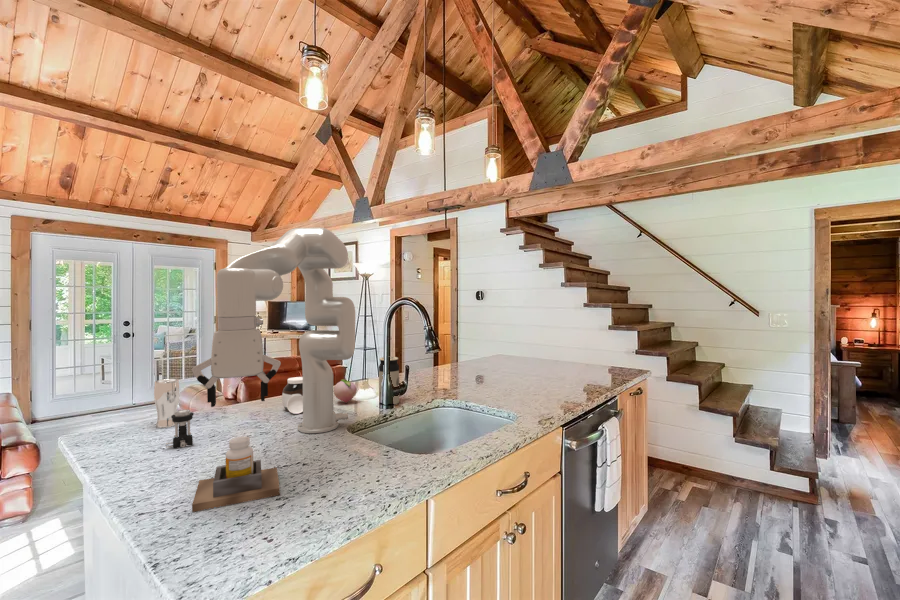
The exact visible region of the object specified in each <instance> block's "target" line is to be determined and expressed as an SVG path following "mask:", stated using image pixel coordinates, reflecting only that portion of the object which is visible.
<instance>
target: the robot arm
mask: <svg viewBox="0 0 900 600" xmlns="http://www.w3.org/2000/svg"><path fill="white" fill-rule="evenodd" d="M348 259H349V252H348V249H347V246H346V245H345V243H344V242H343V241H342V240H341V239H340V238H339V237H338V236H337V235H336V234H335V233H334V232H332V231H331V230H329V229H327V228H325V227H295V228H291V229H289V230H287V231H286V232H285V233H284V234H283V235H281V236H280V237H279V238H278V239H277V240H276V241H275V242H273V243H272V244H271V246H267V247H264V248H262V249H259V250H257V251H255V252H251V253H248V254H246V255H243V256H241V257H238V258H237V259H235V260H233V261H232V262H231V263H230V264H228V265H227V266H226V267H225V268H221V269H218V272H217V274H216V303H217V304H216V305H217V306H216V309H217V315H216V316H217V331H214V332H213V338H212V344H211V354H210V355H211V356H210V358H208V359H206V360H205V361H202V362H201V363H199V364H197V365H195V366H193V367H192V368H191V373H192V374H193V375H194V377H195V378H196V379H197V380H196V381H197V382H199V383H201V385H203V386H204V387H205V388H206V390H207V391H206V392H207V396H206V397H207V403H210V407H211V408H213V407H216V405H217V386H216V385H215V384H216V382H217V381H218V380H220V379H231V378H241V377H243V378H244V377H253V376H257V377H258V378H259V379H260V380H261V381H260V401H261V402H265V398H266V397H268V396H269V388H268V386H269V385H268V383H269V382H270V381H271V380H272V379H273V378H274V377H275V375H276V374H277V372H278V370H279V369H280V366H281V364H282V363H281V361H280V360H279V359H275V358H273V357H270V356H268V355H266V354H264V348H263V346H264V345H263V338H262V333H261V330H260V329H257V327H259V326H260V325H264V318H260V317H258V316H257V302H259V301H260V302H262V301H264V302H266V301H267V302H268V301H273V300H274V299H277V298H278V297H279V296H280V295H281V294H282V293H283V291H284V290H283V289H284V281H283V279H282V276H284V275H288V274H290V273H293V272H294V271H295V270H296V269H297V268H298V269H299V271H300V273H301V275H302V277H303V280H304V283H305V298H304V299H305V302H304V316H305V318H304V319H305V321H306V323H307V324H309V326H316V327H338V330H328V329H326V330H325V329H322V330H320V329H319V330H318V329H317V330H316V329H315V330H309V331H306V332H304V333H303V334H302V335H301V336H300V338H299V340H298V349H299V354H300V358H301V369H302V370H301V371H302V377H303V412H302V422H300V423H299V424H298V425H297V430H298V432H300V433H303V434H319V433H327V432H330V431H333V430H335V429H337V428H338V427H339V421H340V420H344V421H345V420H349V413H348V412H346V413H343V412H339V413H336V411H335V410H334V372H333V369H332V366H331V365H330V364H329V363H328V361H335V360H336V361H344V360H347V361H348V360H349V359H351V358H352V357H353V356H354V353H355V348H356V306H355V304H354V301H353V300H352V299H351V298H349V297H346V296H334V295H333V294H334V293H333V291H334V290H333V287H334V285H333V284H334V282H333V280H332V278H331V277H330V275H329V274H328V272H327V271H326V270H327V269H328V270H329V269H333V270H334V269H337V270H338V269H341V268H344V267H345V266H346V265H347V263H348V261H349V260H348ZM325 269H326V270H325ZM264 362H265V363H267V364H269V365H272V367H271V369H270V370H269V371H268V372H266V373H265V371H264ZM208 367H210V368H211V369H210V371H211V372H210V373H211V376H210V378H208V377H207V376H205V375H204V374H203V372H202V370H204V369H206V368H208Z"/></svg>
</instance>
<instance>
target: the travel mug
mask: <svg viewBox="0 0 900 600" xmlns="http://www.w3.org/2000/svg"><path fill="white" fill-rule="evenodd" d="M384 357H385V356H384ZM384 357H380V358H379V361H380V364H379V366H378V400H379V401H380V388H381V382H382V379H383V376H382V375H383V365H384ZM389 357H390V375H391V376H390V377H391V380H392V384H393V386H394V387H396V386H398V385H399V386H400V366H399V363H398V360H399V357H397V356H389ZM379 401H378V402H379ZM393 401H394V405H397V404H399V403H400V394H399V395H398V396H394V398H393Z"/></svg>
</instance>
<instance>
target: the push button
mask: <svg viewBox="0 0 900 600" xmlns="http://www.w3.org/2000/svg"><path fill="white" fill-rule="evenodd" d="M193 416H194V412H191V410H190V409H179V410H177V411H176V412H175V414H174V415H172V416H171V418H172V421H173V422H175V426H174V427H175V428H174V429H175V430H174V431H175V433H174V435H173V438H172V441H171V442H166V443H165V445H166V446H165V448H173V449H178V448H177V447H180V448H185V447H187V446H186V445H192V446H193V445H194V444H193V443H194V442H193V441H194V440H193V439H194V438H193V434H192V432H191V420H192V419H193V418H194V417H193ZM171 444H172V445H171ZM167 445H168V446H167Z"/></svg>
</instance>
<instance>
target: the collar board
mask: <svg viewBox="0 0 900 600" xmlns="http://www.w3.org/2000/svg"><path fill="white" fill-rule="evenodd" d="M279 481H280V480H279V474H278V467H270V468H265V469H262V460H261V459H258V460H257V459H256V460H253V474H251V475H245V476H239V477H234V478H228V479H226V464H225V465H219V466H216V469H215V473H214V477H211V478H206V479H200V480H199V481H198V484H197V487H196V490H195V493H194V497H193V500H192V504H191V509H192V510H191V512H192V513H195V512H199V511H200V512H202V511H205V510H204V509H206V510H210V509H209V508H211V509H214V507H216V508H220V506H221V507H226V506H231V505H235V504H236V505H237V504H241V503H245V502H246V503H247V502H252V501H257V500H261V499H267V498H273V497H277V496H280V491H281V490H280V489H281V487H280V482H279Z"/></svg>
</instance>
